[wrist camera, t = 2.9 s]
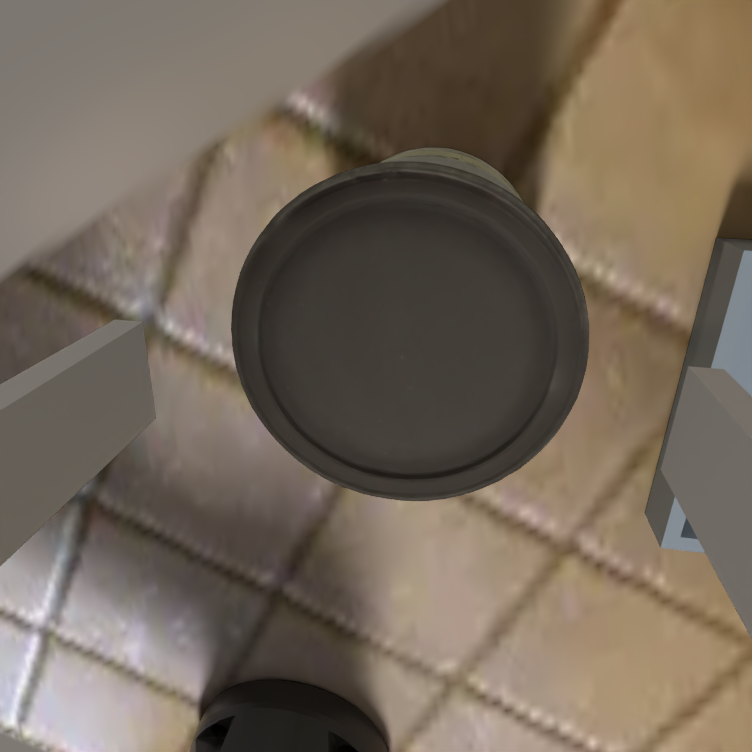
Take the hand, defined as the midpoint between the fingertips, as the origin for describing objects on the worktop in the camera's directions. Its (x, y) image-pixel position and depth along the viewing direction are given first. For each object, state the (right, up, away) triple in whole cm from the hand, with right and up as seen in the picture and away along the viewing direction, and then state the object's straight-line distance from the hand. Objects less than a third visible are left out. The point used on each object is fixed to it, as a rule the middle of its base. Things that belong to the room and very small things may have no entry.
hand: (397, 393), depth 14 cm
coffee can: (+2, +7, +15) cm, 17 cm away
